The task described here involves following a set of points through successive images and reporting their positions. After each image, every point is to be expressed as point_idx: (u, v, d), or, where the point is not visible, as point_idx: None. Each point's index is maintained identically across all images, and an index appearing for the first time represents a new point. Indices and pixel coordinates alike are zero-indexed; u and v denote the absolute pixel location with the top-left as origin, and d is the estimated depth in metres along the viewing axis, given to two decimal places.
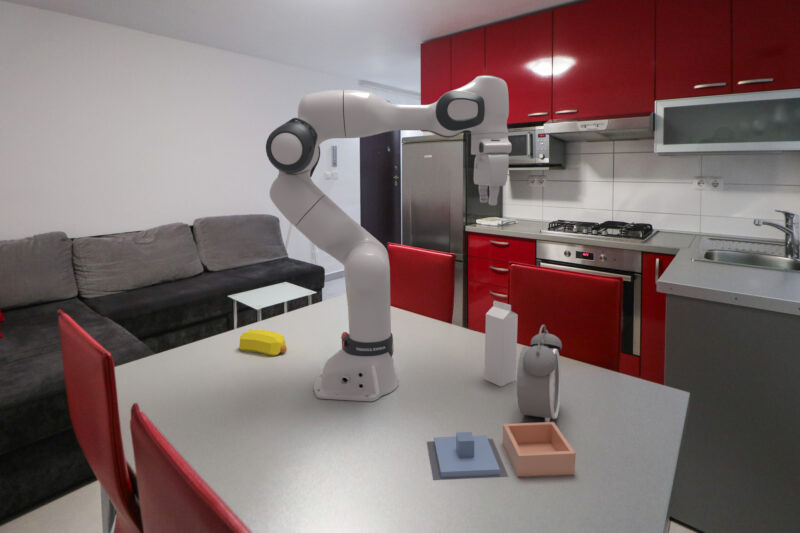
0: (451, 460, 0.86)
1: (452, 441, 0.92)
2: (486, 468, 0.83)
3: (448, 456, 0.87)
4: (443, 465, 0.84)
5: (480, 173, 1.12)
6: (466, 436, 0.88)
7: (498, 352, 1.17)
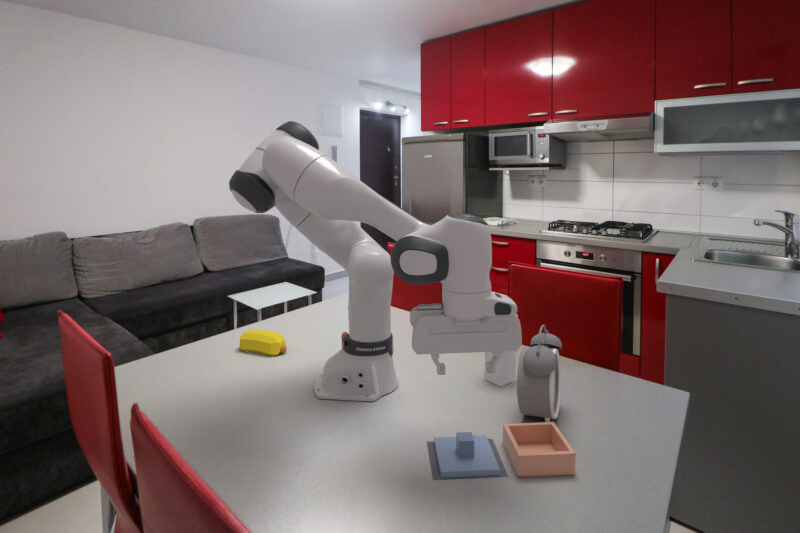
0: (451, 460, 0.86)
1: (452, 441, 0.92)
2: (486, 468, 0.83)
3: (448, 456, 0.87)
4: (443, 465, 0.84)
5: (461, 339, 0.81)
6: (466, 436, 0.88)
7: None
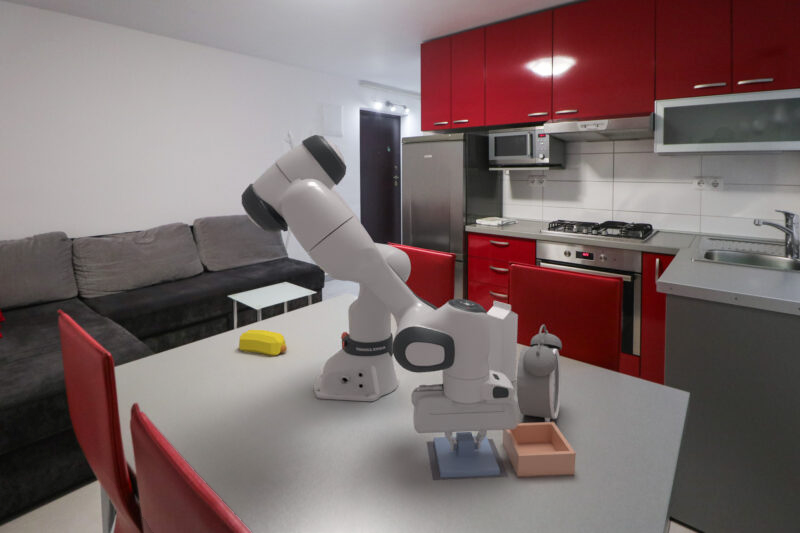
0: (451, 460, 0.86)
1: None
2: (486, 468, 0.83)
3: (448, 456, 0.87)
4: (443, 465, 0.84)
5: (460, 418, 0.85)
6: (466, 436, 0.88)
7: (498, 352, 1.17)
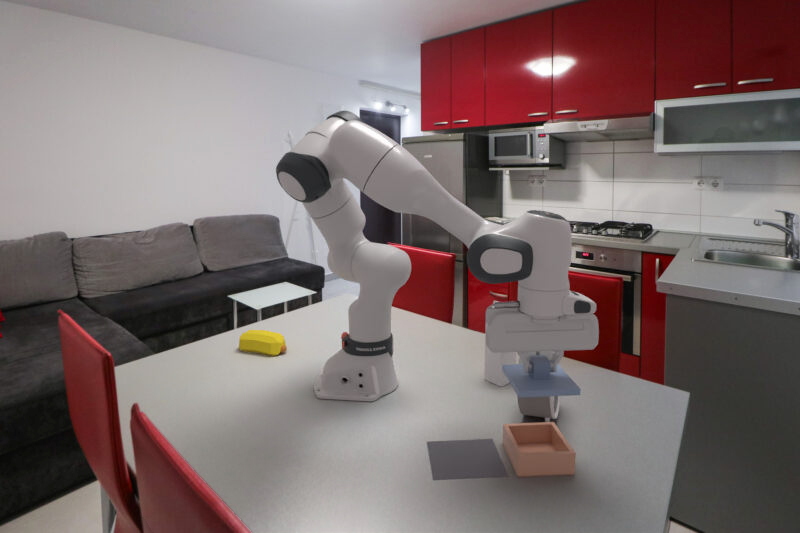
0: (526, 382, 0.82)
1: None
2: (565, 388, 0.79)
3: (522, 379, 0.83)
4: (519, 386, 0.80)
5: (537, 337, 0.81)
6: (541, 358, 0.83)
7: None
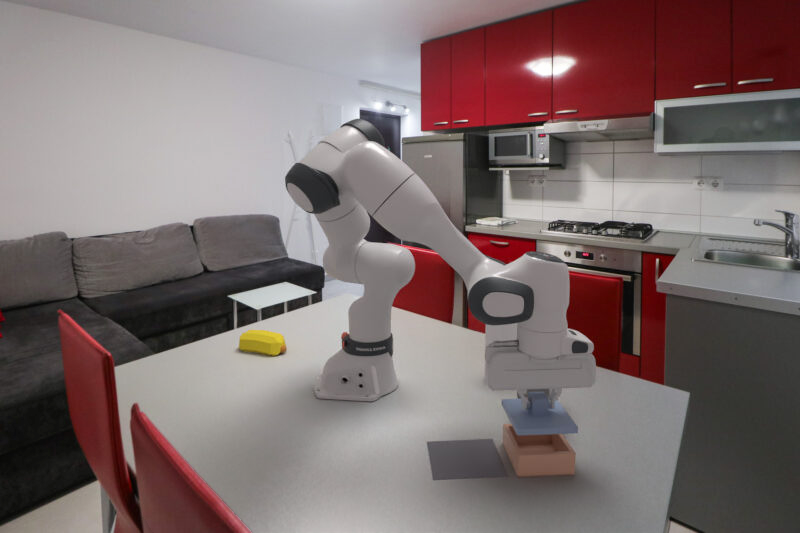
0: (525, 419, 0.83)
1: None
2: (563, 426, 0.81)
3: (521, 415, 0.84)
4: (518, 423, 0.82)
5: (536, 375, 0.82)
6: (539, 395, 0.85)
7: None
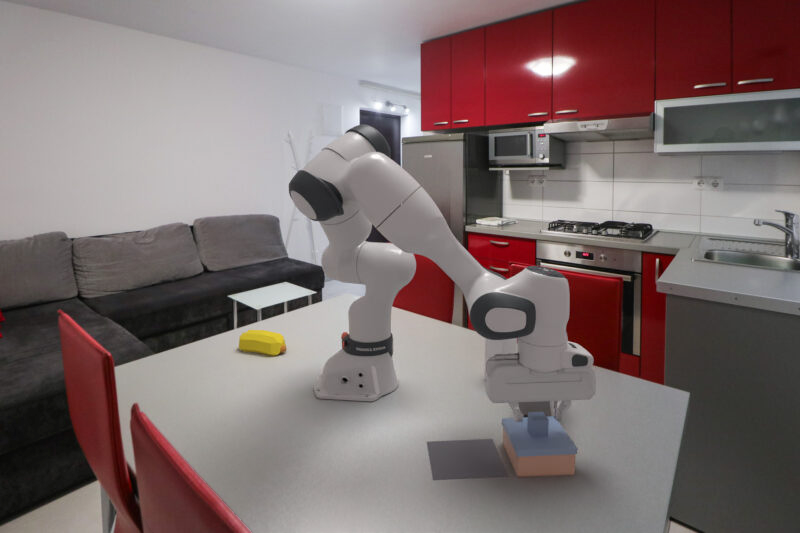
0: (525, 440, 0.85)
1: (521, 422, 0.91)
2: (563, 447, 0.82)
3: (521, 436, 0.86)
4: (518, 444, 0.83)
5: (536, 388, 0.83)
6: (539, 416, 0.86)
7: (498, 352, 1.17)
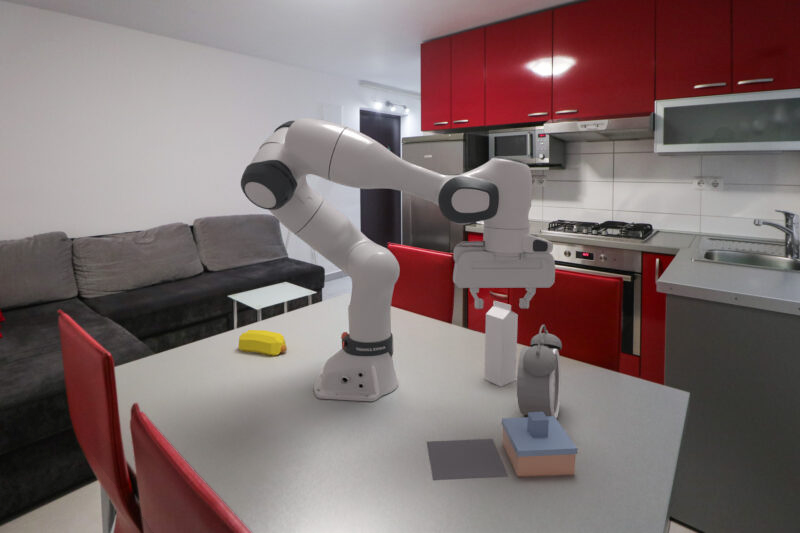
0: (525, 440, 0.85)
1: (521, 422, 0.91)
2: (563, 447, 0.82)
3: (521, 436, 0.86)
4: (518, 444, 0.83)
5: (500, 274, 0.88)
6: (539, 416, 0.86)
7: (498, 352, 1.17)
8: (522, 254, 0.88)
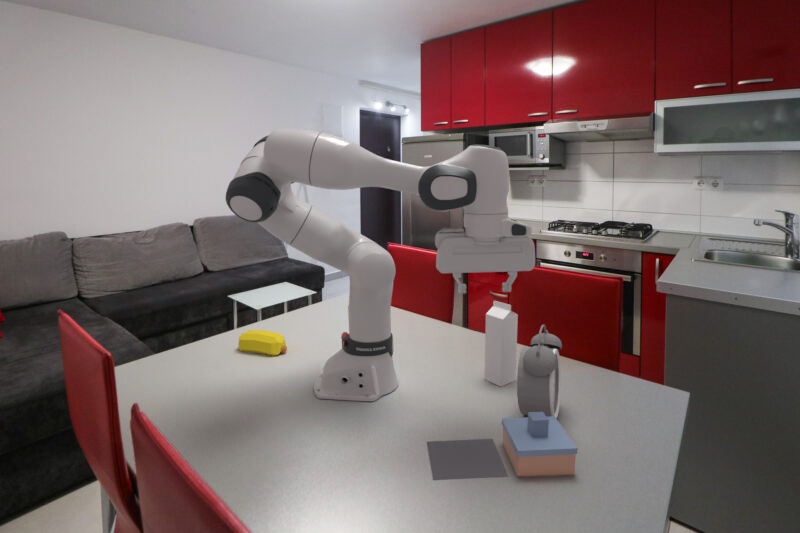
0: (525, 440, 0.85)
1: (521, 422, 0.91)
2: (563, 447, 0.82)
3: (521, 436, 0.86)
4: (518, 444, 0.83)
5: (481, 259, 0.91)
6: (539, 416, 0.86)
7: (498, 352, 1.17)
8: (502, 239, 0.90)
